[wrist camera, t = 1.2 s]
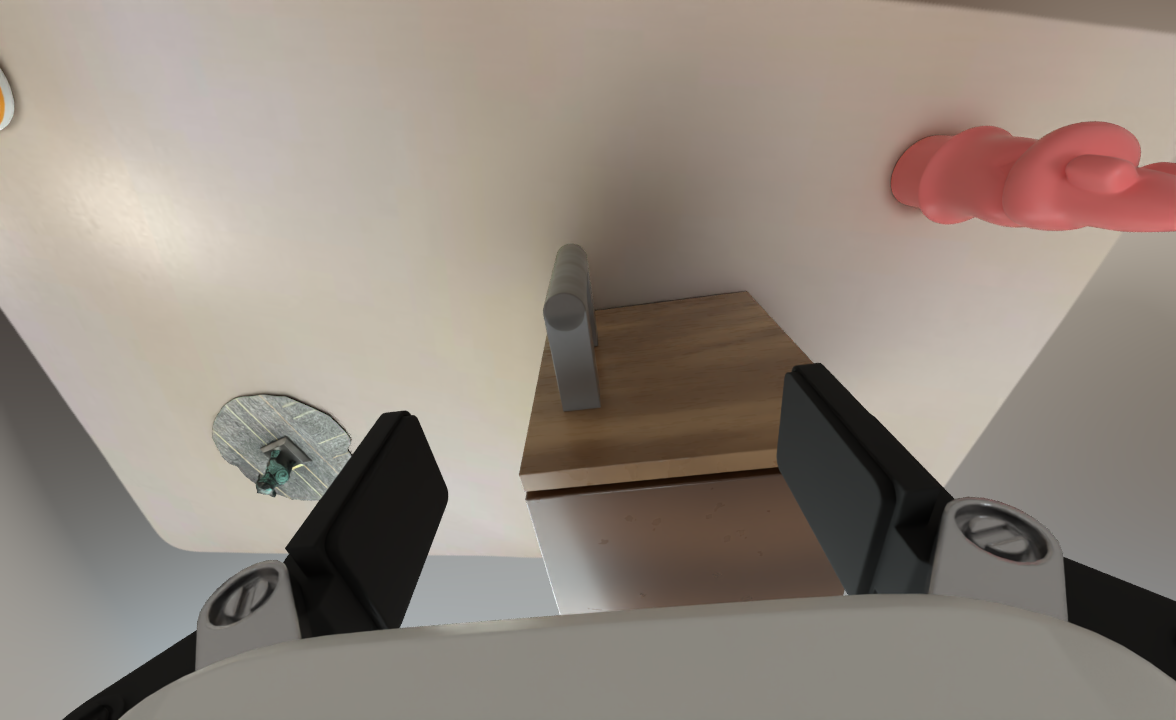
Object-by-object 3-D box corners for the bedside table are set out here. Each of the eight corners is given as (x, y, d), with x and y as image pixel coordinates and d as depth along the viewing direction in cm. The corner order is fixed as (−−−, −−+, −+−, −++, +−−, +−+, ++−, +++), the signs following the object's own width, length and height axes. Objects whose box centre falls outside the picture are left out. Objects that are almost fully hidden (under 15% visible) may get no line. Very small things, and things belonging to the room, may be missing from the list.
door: (534, 233, 28) (479, 344, 14) (751, 202, 27) (923, 289, 13) (552, 328, 31) (523, 492, 17) (746, 304, 30) (878, 458, 16)
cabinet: (553, 330, 31) (524, 499, 17) (745, 306, 30) (879, 465, 16) (577, 452, 37) (570, 652, 23) (739, 436, 36) (833, 634, 22)
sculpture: (337, 513, 41) (235, 550, 35) (303, 440, 45) (204, 461, 38) (377, 440, 36) (265, 468, 29) (335, 363, 39) (225, 372, 32)
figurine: (990, 126, 25) (1446, 131, 11) (946, 217, 27) (1278, 306, 14) (905, 117, 24) (1271, 112, 11) (868, 209, 27) (1133, 292, 14)
